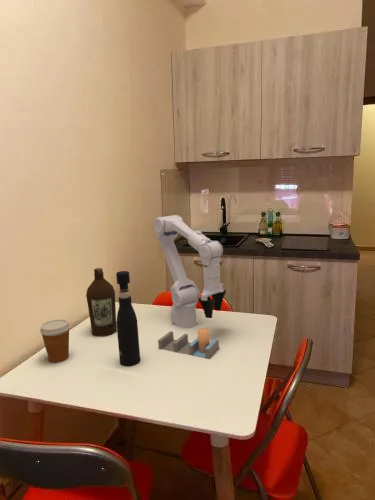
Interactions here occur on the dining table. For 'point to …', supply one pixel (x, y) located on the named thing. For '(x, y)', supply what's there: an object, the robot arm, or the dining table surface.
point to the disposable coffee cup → (56, 339)
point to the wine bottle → (127, 324)
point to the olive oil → (101, 305)
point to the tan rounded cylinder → (203, 339)
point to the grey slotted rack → (187, 346)
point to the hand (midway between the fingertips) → (213, 313)
